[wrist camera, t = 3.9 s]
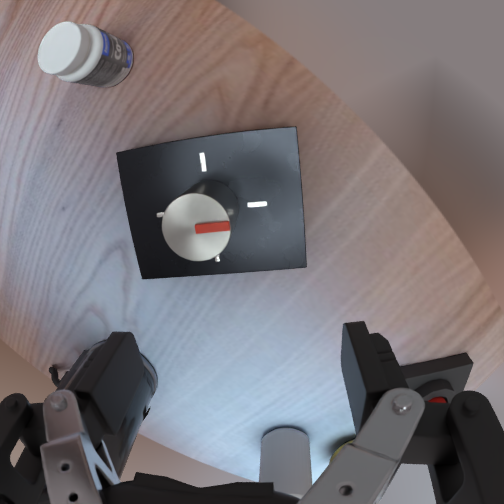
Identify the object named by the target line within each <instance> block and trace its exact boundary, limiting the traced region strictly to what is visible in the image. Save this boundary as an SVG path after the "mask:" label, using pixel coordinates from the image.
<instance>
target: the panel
mask: <svg viewBox="0 0 504 504" xmlns="http://www.w3.org/2000/svg"><path fill="white" fill-rule="evenodd" d="M116 155H117V161H118V167H119V173H120V179H121V185H122V190H123V196H124V201H125V206H126V211H127V216H128V221H129V225H130V230H131V235H132V239H133V243H134V248H135V252H136V256H137V260H138V264H139V268H140V272H141V276H142V279H155V278H171V277H186V276H201V275H215V274H229V273H243V272H256V271H269V270H282V269H294V268H306V267H307V261H306V242H305V225H304V210H303V196H302V183H301V171H300V159H299V148H298V137H297V127H296V126H295V127H282V128H270V129H260V130H250V131H241V132H233V133H225V134H217V135H210V136H203V137H196V138H190V139H184V140H178V141H172V142H166V143H161V144H156V145H150V146H145V147H140V148H136V149H131V150H126V151H122V152H117V153H116ZM206 180H212V181H217V182H220V183H222V184H224V185H226V186H227V187H228V188H230V189H231V191H232V192H233V193H234V195H235V196H236V198H237V201H238V206H239V213H238V218H237V220H236V223H235V226H234V228H233V231H232V234H231V237H230V239H229V242H228V244H227V246H226V247H225V249H224V250H223V251H222V252H221V253H220V254H219V255H217V256H216V257H214V258H212V259H209V260H205V261H192V260H188V259H185V258H183V257H181V256H179V255H178V254H176V253H175V252H174V251H173V250H172V249H171V248H170V247H169V245H168V244H167V242H166V240H165V238H164V235H163V231H162V219H163V215H164V212H165V210H166V208H167V207H168V206H169V204H170V203H171V202H172V201H173V200H175V199H176V198H177V197H178V196H180V195H181V194H182V193H184V192H185V191H186V190H188V189H189V188H190V187H192V186H193V185H195V184H196V183H198V182H201V181H206Z"/></svg>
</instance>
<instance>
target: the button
mask: <svg viewBox="0 0 504 504" xmlns="http://www.w3.org/2000/svg"><path fill="white" fill-rule="evenodd" d="M428 402H437V403H446V401H445V399H444V398H443V397H435V398H432V399H431V400H429V401H428Z"/></svg>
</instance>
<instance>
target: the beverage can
mask: <svg viewBox="0 0 504 504" xmlns="http://www.w3.org/2000/svg"><path fill="white" fill-rule="evenodd" d="M259 482H273V483H274V490H275V491H279V492H283V493H287V494H290V495H293V496H295V497H297V498H299V499H301V498H302V497H303V496H304V495H305V494H306V492H307V491H308V490H309V489H310V488H311V486H312V474H311V459H310V445H309V438H308V436H307V435H306V434H305V433H303V432H301V431H299V430H296V429H293V428H278V429H275V430H273V431H271V432H269V433H268V434H266V435H265V436H264V437H263V439H262V441H261V457H260V474H259Z"/></svg>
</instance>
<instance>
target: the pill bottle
mask: <svg viewBox="0 0 504 504" xmlns="http://www.w3.org/2000/svg"><path fill="white" fill-rule="evenodd" d="M38 63H39V66H40V68H41V69H42V70H43V71H44V72H45V73H47V74H52V75H56V76H57V77H58V78H59V79H61V80H63V81H66V82H72V83H79V84H85V85H92V86H97V87H111V86H114V85H116V84H118V83H119V82H121V81H122V80H123V79H124V78H125V77H126V76H127V75H128V73H129V71H130V69H131V67H132V63H133V53H132V50H131V48H130V46H129V45H128V44H127V43H126V42H125V41H123V40H121V39H119V38H117V37H115V36H113V35H111V34H109V33H107V32H105V31H103V30H101V29H99V28H97V27H95V26H93V25H89V24H76V23H73V22H62V23H59V24H57V25H55V26H54V27H53V28H51V29H50V30H49V31H48V32H47V34H46V35H45V36H44V38H43V40H42V42H41V44H40V47H39V51H38Z"/></svg>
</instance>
